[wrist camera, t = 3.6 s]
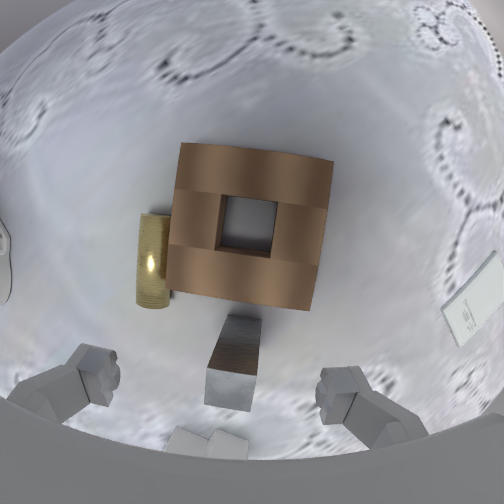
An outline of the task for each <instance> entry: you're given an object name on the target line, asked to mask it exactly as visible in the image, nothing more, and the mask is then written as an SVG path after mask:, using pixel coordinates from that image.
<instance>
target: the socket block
mask: <svg viewBox="0 0 504 504" xmlns="http://www.w3.org/2000/svg"><path fill="white" fill-rule="evenodd" d="M333 164H334V161H329V160H324V159H318V158H313V157H307V156H301V155H295V154H288V153H282V152H275V151H267V150H260V149H251V148H243V147H233V146H223V145H211V144H198V143H182V142H181V148H180V155H179V161H178V168H177V175H176V182H175V189H174V197H173V205H172V214H171V223H170V232H169V243H168V255H167V268H166V283H165V289H170V290H175V291H180V292H186V293H191V294H197V295H203V296H209V297H215V298H221V299H227V300H233V301H239V302H246V303H253V304H259V305H266V306H273V307H281V308H288V309H296V310H303V311H310V307H311V302H312V297H313V292H314V287H315V281H316V276H317V271H318V265H319V260H320V254H321V248H322V242H323V236H324V230H325V223H326V217H327V210H328V203H329V196H330V188H331V181H332V173H333ZM227 196H235V197H242V198H250V199H257V200H264V201H271V202H277V209H276V216H275V223H274V230H273V237H272V244H271V251H270V252H265V251H258V250H251V249H244V248H238V247H231V246H224V245H221V240H222V232H223V224H224V217H225V209H226V201H227Z"/></svg>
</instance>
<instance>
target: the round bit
mask: <svg viewBox="0 0 504 504" xmlns="http://www.w3.org/2000/svg"><path fill="white" fill-rule="evenodd" d="M170 223H171V216H168V215H159V214H141V218H140V229H139V242H138V257H137V279H136V303H137V304H138V305H139V306H141V307H144V308H148V309H162V308H166V307H168V306H169V304H170V289H165V283H166V268H167V255H168V243H169V232H170Z"/></svg>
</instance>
